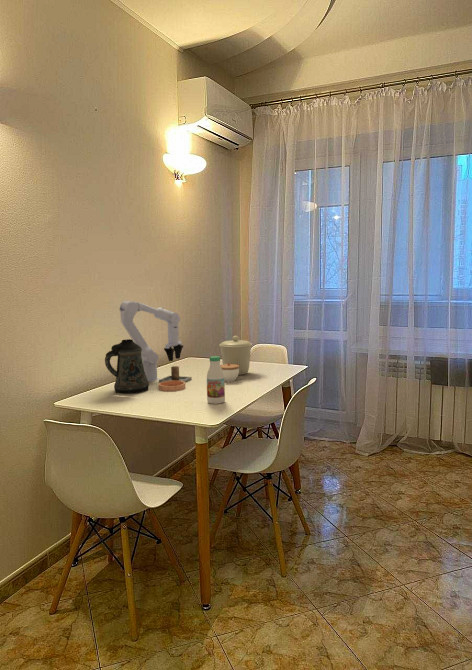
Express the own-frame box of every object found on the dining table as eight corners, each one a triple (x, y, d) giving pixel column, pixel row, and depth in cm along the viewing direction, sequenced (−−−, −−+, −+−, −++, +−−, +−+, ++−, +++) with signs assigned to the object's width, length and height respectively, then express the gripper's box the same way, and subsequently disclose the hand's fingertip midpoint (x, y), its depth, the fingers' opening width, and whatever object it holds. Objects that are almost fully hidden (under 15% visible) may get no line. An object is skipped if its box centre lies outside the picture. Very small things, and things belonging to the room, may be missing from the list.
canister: (247, 377, 274) (246, 338, 271) (215, 376, 280) (214, 337, 277) (256, 371, 291) (256, 334, 288) (226, 369, 297) (225, 333, 294)
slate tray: (159, 383, 265) (158, 379, 264) (169, 379, 275) (169, 375, 274) (181, 385, 260) (181, 381, 259) (191, 380, 270) (191, 377, 269)
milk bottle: (207, 400, 229) (205, 355, 226) (224, 399, 230) (223, 354, 227) (207, 404, 221) (206, 358, 219) (225, 403, 222) (224, 357, 219)
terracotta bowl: (153, 391, 249) (153, 385, 248) (167, 385, 260) (167, 379, 260) (177, 392, 244) (177, 387, 243) (189, 387, 255) (189, 381, 255)
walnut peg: (170, 380, 266) (169, 367, 265) (174, 379, 270) (173, 366, 269) (176, 381, 264) (176, 367, 263) (180, 379, 268) (180, 366, 267)
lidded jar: (237, 382, 262) (236, 364, 261) (216, 382, 264) (216, 364, 263) (241, 378, 273) (240, 360, 271) (221, 378, 275) (220, 360, 274)
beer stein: (156, 389, 253) (153, 338, 249) (128, 398, 236) (126, 343, 233) (130, 386, 261) (128, 336, 258) (102, 394, 244) (99, 342, 241)
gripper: (173, 336, 270) (174, 362, 271) (186, 333, 283) (187, 357, 285) (161, 336, 272) (162, 361, 274) (175, 332, 286) (175, 357, 287)
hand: (174, 359), depth 280 cm, fingers open, 7 cm apart
